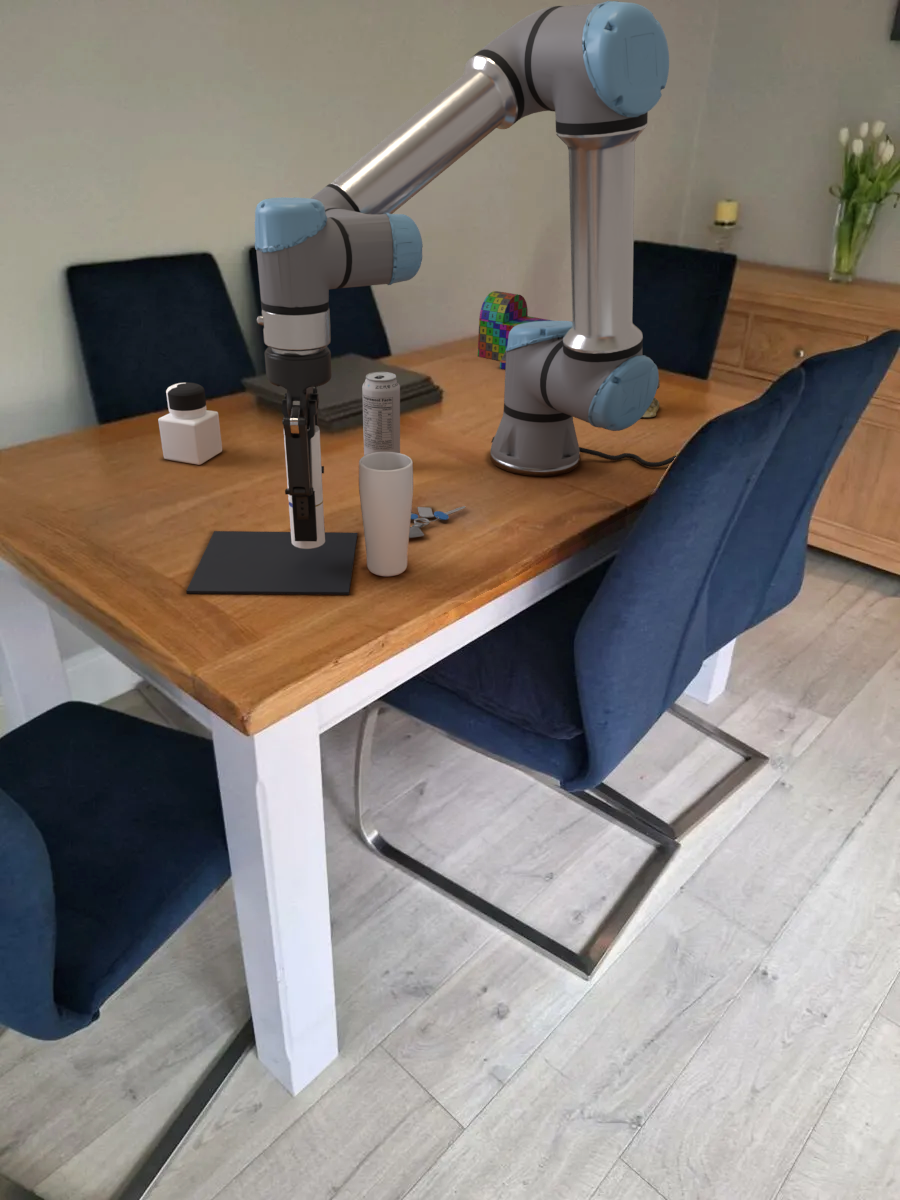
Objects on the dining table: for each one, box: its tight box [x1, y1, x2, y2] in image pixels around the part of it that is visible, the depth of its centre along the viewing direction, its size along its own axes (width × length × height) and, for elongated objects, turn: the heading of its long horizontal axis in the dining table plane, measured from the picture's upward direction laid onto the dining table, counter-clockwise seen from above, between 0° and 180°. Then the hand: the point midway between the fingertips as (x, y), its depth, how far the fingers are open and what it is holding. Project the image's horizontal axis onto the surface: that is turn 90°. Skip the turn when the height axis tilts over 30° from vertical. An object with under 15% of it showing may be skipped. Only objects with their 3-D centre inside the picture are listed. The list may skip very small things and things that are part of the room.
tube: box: [283, 425, 326, 549], centre depth 109 cm, size 4×4×15 cm
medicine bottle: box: [157, 382, 223, 466], centre depth 145 cm, size 7×7×12 cm
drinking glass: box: [358, 452, 414, 577], centre depth 111 cm, size 7×7×15 cm
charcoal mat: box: [185, 530, 358, 596], centre depth 116 cm, size 20×17×1 cm
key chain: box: [409, 505, 467, 539], centre depth 128 cm, size 14×8×1 cm, turn 148°
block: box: [477, 290, 554, 370], centre depth 202 cm, size 25×17×14 cm
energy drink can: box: [361, 371, 401, 456], centre depth 143 cm, size 6×6×15 cm
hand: (308, 530), depth 112 cm, fingers closed on tube, 4 cm apart
